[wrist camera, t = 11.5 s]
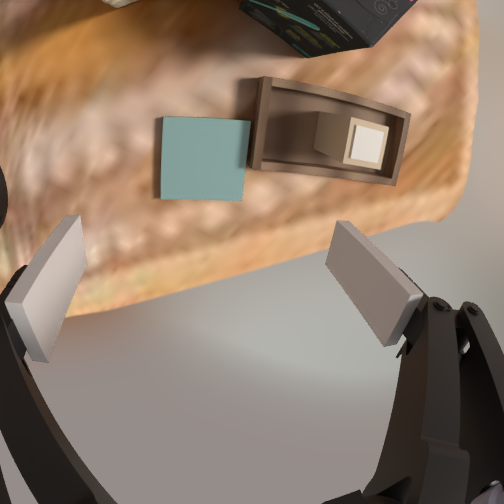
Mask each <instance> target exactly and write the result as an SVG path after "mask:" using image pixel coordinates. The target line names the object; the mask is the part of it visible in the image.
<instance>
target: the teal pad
mask: <svg viewBox="0 0 504 504" xmlns="http://www.w3.org/2000/svg"><path fill="white" fill-rule="evenodd" d="M250 126H251V121H248V120H236V119H223V118H205V117H163V133H162V156H161V199H175V200H224V201H242V195H243V186H244V177H245V168H246V159H247V151H248V142H249V134H250Z"/></svg>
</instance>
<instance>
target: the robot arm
mask: <svg viewBox="0 0 504 504" xmlns="http://www.w3.org/2000/svg"><path fill="white" fill-rule="evenodd" d="M7 207H8V193H7V186H6V181H5V177H4V174H3V171H2V169H1V167H0V228H1V227H2V225H3V223H4V221H5V217H6V213H7ZM325 264H326V266H327V267H328V269H329V270H330V271H331V273H332V274H333V275H334V277H335V278H336V279H337V281H338V282H339V284H340V285H341V286H342V287H343V289H344V291H345V292H346V293H347V295H348V296H349V297H350V299H351V300H352V302H353V303H354V305H355V306H356V307H357V309H358V310H359V312H360V313H361V314H362V316H363V317H364V319H365V320H366V322H367V323H368V325H369V326H370V327H371V329H372V330H373V332H374V333H375V335H376V336H377V338H378V339H379V341H380V342H381V344H382V345H383V347H386V346H391V345H395V344H397V343H398V341H399V339H400V337H401V336H402V334H403V335H404V336H405V337H406V341H405V343H404V344H403V346H402V347H401V349H400V351H399V352H398V354H397V356H396V358H398V357H399V356H400V355H401V354H402V357H401V364H400V371H399V377H398V383H397V388H396V395H395V399H394V404H393V409H392V413H391V418H390V422H389V426H388V431H387V434H386V438H385V442H384V446H383V449H382V453H381V456H380V459H379V463H378V466H377V470H376V472H375V475H374V476H373V478H372V479H371V481H370V482H369V483H368V485H367V486H366V488H365V490H364V491H363V493H361V491H360V490H357V491H355V492H352V493H350V494H346V495H344V496H341V497H338V498H335V499H332V500H329V501H326V502H324V503H322V504H464V503H465V504H504V354H503V352H502V350H501V348H500V345H499V343H498V341H497V339H496V337H495V335H494V333H493V331H492V329H491V327H490V325H489V323H488V321H487V319H486V317H485V315H484V313H483V312H482V310H481V309H480V308H479V307H478V305H476V304H474V303H471V302H464V303H463V304H462V306H461V308H460V310H453V309H452V307H451V306H450V305H449V304H448V303H447V302H446V301H444V300H443V299H441V298H438V297H430V298H429V297H428V296H427V295H426V294H425V293H424V292H423V291H422V290H421V289H420V288H419V287H418V286H417V284H416V283H415V282H413V280H411V278H410V277H408V275H407V274H406V273H405V272H404V271H403V270H402V269H400V268H398V267H397V266H396V265H395V264H394V263H393V262H392V261H391V260H390V259H389V258H388V257H387V256H386V255H385V254H384V253H383V252H381V251H380V250H379V249H378V248H377V247H376V246H375V245H374V244H373V243H372V242H371V241H370V240H369V239H368V238H367V237H366V236H365V235H363V234H362V233H361V232H360V231H359V230H358V229H357V228H356V227H355V226H354V225H353V224H351V223H350V222H349V221H340V220H337V222H336V226H335V230H334V233H333V237H332V241H331V245H330V248H329V252H328V256H327V259H326V263H325ZM86 266H87V259H86V253H85V247H84V240H83V234H82V226H81V219H80V215H66V217H65V218H64V219H63V220H62V221H61V223H60V224H59V225H58V226H57V227H56V229H55V230H54V231H53V232H52V234H51V235H50V236H49V238H48V239H47V240H46V241H45V243H44V244H43V245H42V247H41V248H40V249H39V251H38V252H37V254H36V255H35V256H34V258H33V259H32V260H31V262H30V263H29V265H24V266H22V267H21V268H20V269H19V270H17V271H16V272H15V274H14V275H13V276H12V278H11V279H10V280H11V281H9V282H8V284H7V285H6V287H5V288H4V290H3V291H2V293H1V295H0V430H1V432H2V435H3V437H4V439H5V442H6V444H7V446H8V449H9V451H10V453H11V455H12V457H13V459H14V461H15V463H16V465H17V467H18V469H19V471H20V472H21V475H22V477H23V478H24V480H25V482H26V484H27V485H28V487H29V489H30V491H31V492H32V494H33V495H34V497H35V499H36V500H37V502H38V503H39V504H117V503H116V502H115V501H114V500H113V498H112V497H111V496H110V495H109V494H108V493H107V491H106V490H105V489H104V488H103V487H102V486H101V484H100V483H99V482H98V481H97V479H96V478H95V477H94V476H93V474H92V473H91V472H90V471H89V469H88V468H87V466H86V465H85V464H84V462H83V461H82V460H81V458H80V457H79V456H78V454H77V453H76V451H75V450H74V448H73V447H72V445H71V444H70V442H69V441H68V439H67V438H66V436H65V435H64V433H63V432H62V430H61V429H60V427H59V425H58V423H57V422H56V420H55V418H54V417H53V415H52V413H51V411H50V410H49V408H48V406H47V404H46V402H45V400H44V398H43V397H42V395H41V393H40V391H39V389H38V387H37V385H36V383H35V381H34V379H33V376H32V374H31V372H30V370H29V368H28V366H27V364H26V362H25V360H24V355H25V352H26V350H27V352H28V354H29V355H30V357H31V359H32V360H33V361H39V362H46V363H49V360H50V357H51V354H52V351H53V348H54V345H55V342H56V339H57V336H58V333H59V331H60V328H61V325H62V323H63V320H64V318H65V315H66V312H67V310H68V307H69V305H70V302H71V300H72V298H73V295H74V293H75V291H76V288H77V286H78V284H79V281H80V279H81V277H82V275H83V272H84V270H85V268H86ZM468 342H469V343H470V348H469V349H468V351H467V352H466V353H464V351H463V349H464V347H465V346H466V344H467V343H468ZM0 504H11V500H10V498H9V494H8V491H7V488H6V485H5V481H4V478H3V474H2V471H1V466H0Z"/></svg>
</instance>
